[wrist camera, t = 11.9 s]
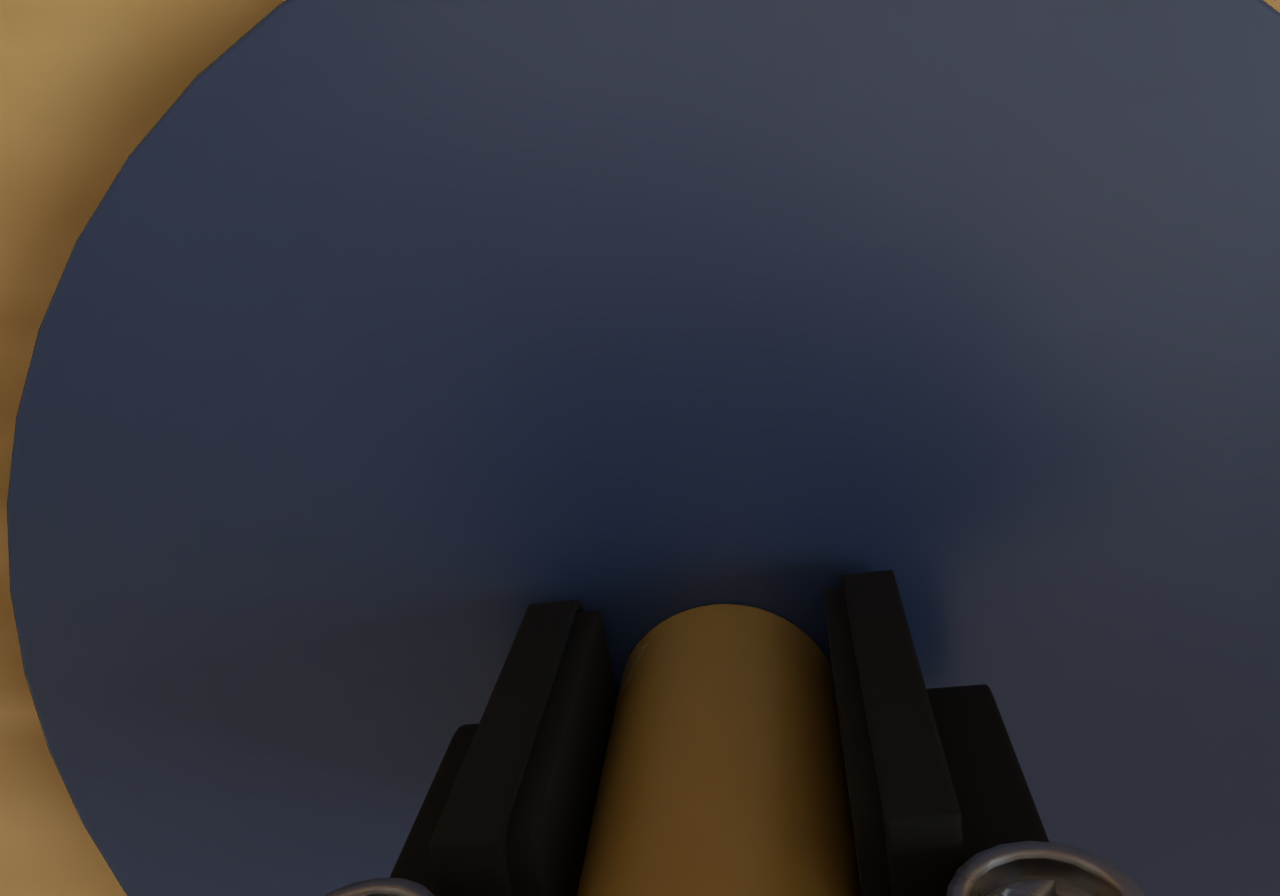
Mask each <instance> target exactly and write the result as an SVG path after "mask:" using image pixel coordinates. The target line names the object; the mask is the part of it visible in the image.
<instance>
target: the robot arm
mask: <svg viewBox="0 0 1280 896" xmlns="http://www.w3.org/2000/svg"><path fill="white" fill-rule="evenodd" d="M823 593H824V602H825V611H826V621H827V630H828V639H829V648H830V657H831V666H832V675H833V683H834V691H835V699H836V706H837V714H838V722H839V729H840V737H841V745H842V752H843V760H844V768H845V775H846V783H847V791H848V798H849V806H850V814H851V821H852V829H853V837H854V844H855V852H856V860H857V867H858V875H859V883H860V890H861V896H1145V895H1144V894H1143V892H1142V890H1141V889H1140V887H1139V886H1138V884H1137V883H1136V882H1135V881H1133V880H1132V879H1131V878H1130V877H1129V876H1128V875H1126V874H1125V873H1124V872H1123V871H1122V870H1121V869H1119V868H1118V867H1117V866H1116V865H1114V864H1112V863H1110V862H1108V861H1106V860H1104V859H1102V858H1100V857H1099V856H1097V855H1095V854H1093V853H1091V852H1089V851H1086V850H1082V849H1078V848H1075V847H1071V846H1067V845H1064V844H1060V843H1052V842H1049V840H1048V837H1047V834H1046V832H1045V829H1044V827H1043V824H1042V821H1041V819H1040V816H1039V814H1038V811H1037V808H1036V806H1035V803H1034V801H1033V798H1032V795H1031V793H1030V790H1029V787H1028V785H1027V782H1026V780H1025V777H1024V774H1023V772H1022V769H1021V767H1020V764H1019V761H1018V759H1017V756H1016V754H1015V751H1014V748H1013V746H1012V743H1011V741H1010V738H1009V735H1008V733H1007V730H1006V728H1005V725H1004V722H1003V720H1002V717H1001V714H1000V712H999V709H998V707H997V704H996V701H995V699H994V696H993V694H992V692H991V690H990V688H989V686H988V685H986V684H981V685H968V686H955V687H942V688H929V689H926V686H925V683H924V679H923V676H922V672H921V668H920V665H919V661H918V658H917V654H916V650H915V647H914V643H913V640H912V636H911V633H910V629H909V625H908V622H907V618H906V615H905V611H904V607H903V604H902V600H901V597H900V593H899V590H898V586H897V582H896V579H895V575H894V572H893V570H887V571H876V572H865V573H855V574H844V575H842V588H837V589H826V590H823ZM616 703H617V694H616V688H615V683H614V677H613V672H612V667H611V661H610V656H609V650H608V645H607V640H606V634H605V629H604V624H603V619H602V616H601V613H600V612H599V611H588V612H585V610H584V607H583V604H582V602H581V601H580V600H568V601H557V602H546V603H536V604H530V605H529V606H528V608H527V610H526V613H525V615H524V617H523V620H522V622H521V625H520V627H519V629H518V632H517V634H516V637H515V639H514V641H513V644H512V646H511V649H510V651H509V653H508V656H507V658H506V661H505V663H504V665H503V668H502V670H501V673H500V675H499V677H498V680H497V682H496V684H495V687H494V689H493V692H492V694H491V696H490V699H489V701H488V704H487V706H486V708H485V711H484V713H483V716H482V718H481V720H480V723H479V724H466V725H463V726H460V727H458V729H457V730H456V732H455V734H454V735H453V737H452V739H451V742H450V744H449V746H448V748H447V751H446V753H445V755H444V757H443V759H442V762H441V764H440V766H439V768H438V771H437V773H436V775H435V777H434V779H433V782H432V784H431V786H430V788H429V791H428V793H427V795H426V797H425V799H424V802H423V804H422V806H421V808H420V811H419V813H418V815H417V817H416V820H415V822H414V824H413V826H412V828H411V831H410V833H409V835H408V837H407V840H406V842H405V844H404V846H403V848H402V851H401V853H400V855H399V857H398V860H397V862H396V864H395V866H394V868H393V871H392V873H391V875H390V877H389V878H375V879H370V880H365V881H360V882H355V883H352V884H349V885H347V886H344V887H342V888H339V889H337V890H334V891H332V892H329V893H327V894H326V895H324V896H575V895H576V890H577V885H578V881H579V876H580V871H581V867H582V862H583V857H584V853H585V848H586V843H587V839H588V834H589V829H590V825H591V820H592V815H593V811H594V806H595V801H596V797H597V792H598V787H599V783H600V778H601V773H602V769H603V764H604V759H605V755H606V750H607V745H608V741H609V736H610V731H611V727H612V722H613V717H614V712H615V708H616Z"/></svg>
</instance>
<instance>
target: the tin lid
mask: <svg viewBox="0 0 1280 896" xmlns="http://www.w3.org/2000/svg"><path fill="white" fill-rule="evenodd" d="M7 522H8V548H9V575H10V593H11V599H12V604H13V610H14V616H15V621H16V627H17V633H18V638H19V644H20V650H21V655H22V661H23V667H24V672H25V676H26V679H27V682H28V685H29V688H30V692H31V695H32V698H33V701H34V704H35V707H36V711H37V714H38V717H39V720H40V723H41V726H42V730H43V733H44V736H45V739H46V742H47V745H48V748H49V751H50V754H51V756H52V758H53V760H54V762H55V764H56V767H57V769H58V771H59V773H60V775H61V777H62V780H63V782H64V784H65V786H66V788H67V790H68V793H69V795H70V797H71V799H72V801H73V804H74V806H75V808H76V810H77V812H78V814H79V817H80V819H81V821H82V823H83V825H84V827H85V828H86V830H87V831H88V833H89V835H90V836H91V838H92V840H93V841H94V843H95V844H96V846H97V848H98V849H99V851H100V853H101V854H102V856H103V857H104V859H105V861H106V862H107V864H108V866H109V867H110V869H111V870H112V872H113V874H114V875H115V877H116V879H117V880H118V882H119V883H120V885H121V887H122V888H123V890H124V892H125V893H126V894H127V895H128V896H324V895H326V894H327V893H329V892H332V891H334V890H337V889H339V888H342V887H344V886H347V885H349V884H352V883H355V882H360V881H365V880H370V879H375V878H389V877H390V875H391V873H392V871H393V868H394V866H395V864H396V862H397V860H398V857H399V855H400V853H401V851H402V848H403V846H404V844H405V842H406V840H407V837H408V835H409V833H410V831H411V828H412V826H413V824H414V822H415V820H416V817H417V815H418V813H419V811H420V808H421V806H422V804H423V802H424V799H425V797H426V795H427V793H428V791H429V788H430V786H431V784H432V782H433V779H434V777H435V775H436V773H437V771H438V768H439V766H440V764H441V762H442V759H443V757H444V755H445V753H446V751H447V748H448V746H449V744H450V742H451V739H452V737H453V735H454V734H455V732H456V730H457V729H458V727H460V726H463V725H466V724H479V723H480V720H481V718H482V716H483V713H484V711H485V708H486V706H487V704H488V701H489V699H490V696H491V694H492V692H493V689H494V687H495V684H496V682H497V680H498V677H499V675H500V673H501V670H502V668H503V665H504V663H505V661H506V658H507V656H508V653H509V651H510V649H511V646H512V644H513V641H514V639H515V637H516V634H517V632H518V629H519V627H520V625H521V622H522V620H523V617H524V615H525V613H526V610H527V608H528V606H529V605H530V604H536V603H546V602H557V601H568V600H580V601H581V602H582V604H583V607H584V610H585V612H588V611H599V612H600V613H601V616H602V619H603V624H604V629H605V634H606V640H607V645H608V650H609V656H610V661H611V667H612V672H613V677H614V683H615V688H616V694H617V703H616V708H615V712H614V717H613V722H612V727H611V731H610V736H609V741H608V745H607V750H606V755H605V759H604V764H603V769H602V773H601V778H600V783H599V787H598V792H597V797H596V801H595V806H594V811H593V815H592V820H591V825H590V829H589V834H588V839H587V843H586V848H585V853H584V857H583V862H582V867H581V871H580V876H579V881H578V885H577V890H576V895H575V896H861V890H860V883H859V875H858V867H857V860H856V852H855V844H854V837H853V829H852V821H851V814H850V806H849V798H848V791H847V783H846V775H845V768H844V760H843V752H842V745H841V737H840V729H839V722H838V714H837V706H836V699H835V691H834V683H833V675H832V666H831V657H830V648H829V639H828V630H827V621H826V611H825V602H824V593H823V590H826V589H837V588H842V575H844V574H855V573H865V572H876V571H887V570H893V572H894V575H895V579H896V582H897V586H898V590H899V593H900V597H901V600H902V604H903V607H904V611H905V615H906V618H907V622H908V625H909V629H910V633H911V636H912V640H913V643H914V647H915V650H916V654H917V658H918V661H919V665H920V668H921V672H922V676H923V679H924V683H925V686H926V689H929V688H942V687H955V686H968V685H981V684H986V685H988V686H989V688H990V690H991V692H992V694H993V696H994V699H995V701H996V704H997V707H998V709H999V712H1000V714H1001V717H1002V720H1003V722H1004V725H1005V728H1006V730H1007V733H1008V735H1009V738H1010V741H1011V743H1012V746H1013V748H1014V751H1015V754H1016V756H1017V759H1018V761H1019V764H1020V767H1021V769H1022V772H1023V774H1024V777H1025V780H1026V782H1027V785H1028V787H1029V790H1030V793H1031V795H1032V798H1033V801H1034V803H1035V806H1036V808H1037V811H1038V814H1039V816H1040V819H1041V821H1042V824H1043V827H1044V829H1045V832H1046V834H1047V837H1048V840H1049V842H1052V843H1060V844H1064V845H1067V846H1071V847H1075V848H1078V849H1082V850H1086V851H1089V852H1091V853H1093V854H1095V855H1097V856H1099V857H1100V858H1102V859H1104V860H1106V861H1108V862H1110V863H1112V864H1114V865H1116V866H1117V867H1118V868H1119V869H1121V870H1122V871H1123V872H1124V873H1125V874H1126V875H1128V876H1129V877H1130V878H1131V879H1132V880H1133V881H1135V882H1136V883H1137V884H1138V886H1139V887H1140V889H1141V890H1142V892H1143V894H1144V895H1145V896H1280V13H1279V12H1278V11H1277V10H1275V9H1274V8H1273V7H1271V6H1270V5H1268V4H1267V3H1266V2H1264V1H1263V0H285V1H284V2H282V3H281V4H279V5H278V6H277V7H276V8H275V9H274V10H272V11H271V12H270V13H269V14H268V15H267V16H265V17H264V18H263V19H262V20H261V21H260V22H259V23H257V24H256V25H255V26H254V27H253V28H252V29H250V30H249V31H248V32H247V33H246V34H245V35H244V36H242V37H241V38H240V39H239V40H238V41H237V42H235V43H234V44H233V45H232V46H231V47H230V48H229V49H227V50H226V51H225V52H224V53H223V54H222V55H220V56H219V57H218V58H217V59H216V60H215V61H213V62H212V63H211V64H210V65H209V66H208V67H207V68H205V69H204V70H203V71H202V72H201V73H200V74H198V75H197V76H196V78H195V79H194V80H193V81H192V82H191V83H190V85H189V86H188V87H187V88H186V89H185V90H184V92H183V93H182V94H181V95H180V96H179V98H178V99H177V100H176V101H175V102H174V103H173V105H172V106H171V107H170V108H169V109H168V110H167V112H166V113H165V114H164V115H163V116H162V117H161V119H160V120H159V121H158V122H157V123H156V125H155V126H154V127H153V128H152V129H151V130H150V132H149V133H148V134H147V135H146V136H145V137H144V139H143V140H142V141H141V142H140V143H139V144H138V146H137V147H136V148H135V149H134V150H133V152H132V153H131V154H130V155H129V157H128V158H127V160H126V161H125V163H124V165H123V166H122V168H121V170H120V171H119V173H118V174H117V176H116V178H115V179H114V181H113V183H112V184H111V186H110V187H109V189H108V191H107V192H106V194H105V195H104V197H103V199H102V200H101V202H100V204H99V205H98V207H97V208H96V210H95V212H94V213H93V215H92V217H91V218H90V220H89V221H88V223H87V225H86V226H85V228H84V230H83V231H82V233H81V234H80V236H79V238H78V239H77V241H76V243H75V245H74V248H73V250H72V252H71V255H70V257H69V259H68V262H67V264H66V266H65V269H64V271H63V274H62V276H61V278H60V281H59V283H58V285H57V288H56V290H55V292H54V295H53V297H52V299H51V302H50V304H49V307H48V309H47V311H46V314H45V316H44V318H43V321H42V323H41V325H40V328H39V331H38V334H37V338H36V342H35V346H34V350H33V354H32V358H31V362H30V366H29V370H28V373H27V377H26V381H25V385H24V389H23V393H22V397H21V401H20V405H19V408H18V412H17V416H16V423H15V433H14V443H13V452H12V462H11V471H10V481H9V490H8V500H7Z"/></svg>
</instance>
